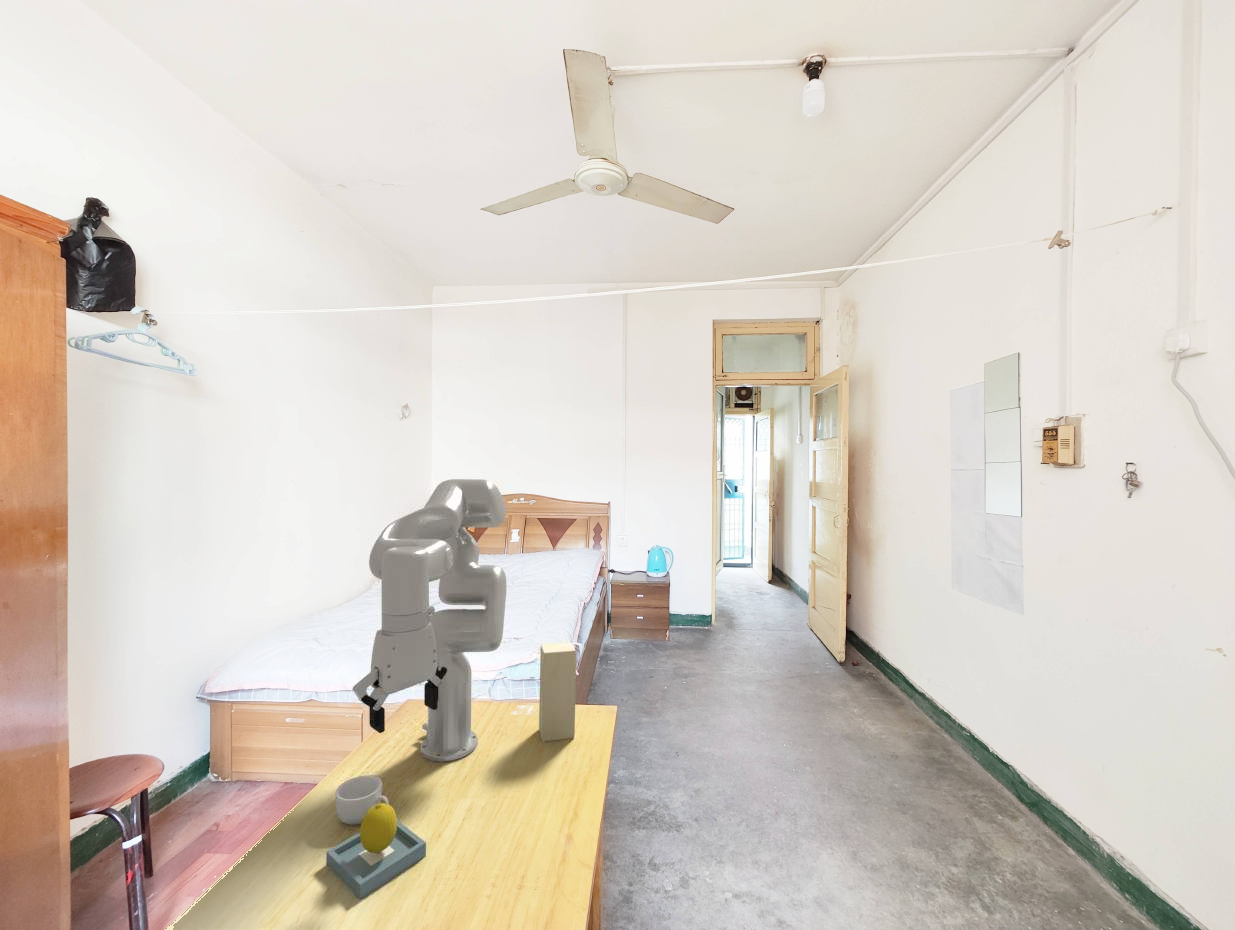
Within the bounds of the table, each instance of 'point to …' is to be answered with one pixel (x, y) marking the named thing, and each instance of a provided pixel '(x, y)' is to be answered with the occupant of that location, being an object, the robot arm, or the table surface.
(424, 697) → the robot arm
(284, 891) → the table surface
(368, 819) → the lemon
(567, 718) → the beige rectangular block
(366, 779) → the teacup
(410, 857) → the tray
